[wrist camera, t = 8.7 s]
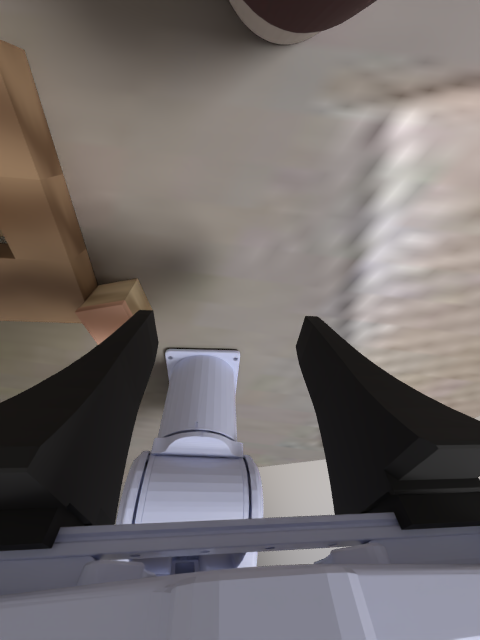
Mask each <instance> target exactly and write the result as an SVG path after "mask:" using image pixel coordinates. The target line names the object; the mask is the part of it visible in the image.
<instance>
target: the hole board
mask: <svg viewBox="0 0 480 640" xmlns="http://www.w3.org/2000/svg"><path fill="white" fill-rule="evenodd" d="M0 229H1V231H2V233H3V235H4V237H5V239H6V241H7V243H8V244H4V243H0V321H29V322H60V323H82V322H81V320H80V319H79V318H78V316H77V315H76V314H75V311H76V310H77V309H78V308H80V307H81V306H82V305H83V303H84V302H85V301H86V300H87V299H88V297H89V296H90V295H91V294H92V292H93V291H94V290H95V289H96V288H97V286H98V285H97V281H96V278H95V275H94V272H93V269H92V265H91V262H90V259H89V256H88V253H87V249H86V246H85V243H84V240H83V237H82V233H81V230H80V227H79V224H78V221H77V217H76V214H75V211H74V208H73V205H72V201H71V198H70V195H69V192H68V189H67V185H66V182H65V179H64V176H63V173H62V169H61V166H60V163H59V160H58V157H57V153H56V150H55V147H54V144H53V140H52V137H51V134H50V131H49V128H48V124H47V121H46V118H45V115H44V112H43V108H42V105H41V102H40V99H39V96H38V92H37V89H36V86H35V83H34V80H33V76H32V73H31V70H30V67H29V64H28V60H27V57H26V54H25V51H24V50H23V49H21V48H18V47H16V46H14V45H11V44H9V43H7V42H4V41H2V40H0Z"/></svg>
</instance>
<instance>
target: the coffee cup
mask: <svg viewBox="0 0 480 640" xmlns="http://www.w3.org/2000/svg"><path fill="white" fill-rule="evenodd" d="M229 1H230V3H231V5H232V7H233V8H234V10H235V12H236V13H237V15H238V16H239V17H240V19H241V20H242V21H243V23H244V24H245V25H246V26H247V27H248V28H249V29H250V30H251V31H253V32H254V33H255V34H256V35H258V36H259V37H261V38H263V39H265V40H267V41H269V42H273V43H276V44H295V43H299V42H302V41H305V40H307V39H309V38H311V37H313V36H315V35H316V34H318V33H319V32H321V31H324V30H327V29H329V28H332V27H334V26H336V25H339V24H341V23H343V22H344V21H346V20H348V19H349V18H351V17H353V16H354V15H356V14H357V13H359V12H360V11H362V10H363V9H365V8H366V7H368V6H369V5H371V4H372V3H374V2H375V1H377V0H229Z"/></svg>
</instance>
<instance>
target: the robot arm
mask: <svg viewBox="0 0 480 640" xmlns="http://www.w3.org/2000/svg"><path fill="white" fill-rule="evenodd" d="M157 348H158V337H157V331H156V325H155V319H154V313H153V310H139V311H137V312H136V313H135V314H134V315H133V316H132V317H131V318H129V319H128V320H127V321H126V322H125V323H124V324H123V325H122V326H120V327H119V328H118V329H117V330H116V331H115V332H114V333H112V334H111V335H110V336H109V337H108V338H106V339H105V340H104V341H103V342H101V343H100V344H99V345H97V346H96V347H95V348H94V349H92V350H91V351H90V352H88V353H87V354H86V355H84V356H83V357H81V358H80V359H78V360H77V361H75V362H74V363H72V364H71V365H69V366H68V367H66V368H65V369H63V370H61V371H60V372H58V373H56V374H54V375H53V376H51V377H49V378H47V379H46V380H44V381H42V382H41V383H39V384H37V385H35V386H33V387H32V388H30V389H28V390H26V391H24V392H22V393H20V394H18V395H16V396H14V397H12V398H10V399H8V400H6V401H4V402H2V403H0V640H480V480H479V478H478V477H479V476H480V421H478V420H476V419H474V418H472V417H469V416H467V415H465V414H463V413H461V412H458V411H456V410H454V409H452V408H450V407H447V406H445V405H443V404H442V403H440V402H438V401H436V400H434V399H432V398H430V397H428V396H426V395H424V394H422V393H420V392H419V391H417V390H415V389H413V388H412V387H410V386H408V385H406V384H405V383H403V382H401V381H400V380H398V379H396V378H395V377H393V376H392V375H390V374H389V373H387V372H386V371H384V370H383V369H381V368H380V367H378V366H377V365H375V364H374V363H373V362H371V361H370V360H368V359H367V358H366V357H365V356H363V355H362V354H361V353H359V352H358V351H357V350H356V349H355V348H353V347H352V346H351V345H350V344H349V343H347V342H346V341H345V340H344V339H343V338H342V337H340V336H339V335H338V334H337V333H336V332H335V331H334V330H333V329H331V328H330V327H329V326H328V325H327V324H326V323H325V322H324V321H322V320H321V319H320V318H319V317H315V316H305V319H304V322H303V325H302V329H301V332H300V335H299V338H298V341H297V344H296V351H297V356H298V361H299V365H300V368H301V371H302V374H303V377H304V380H305V383H306V386H307V388H308V391H309V394H310V397H311V400H312V403H313V406H314V409H315V412H316V416H317V420H318V424H319V429H320V433H321V437H322V442H323V447H324V452H325V457H326V462H327V468H328V473H329V479H330V485H331V491H332V498H333V504H334V512H335V515H322V516H298V517H276V518H263V490H262V482H261V477H260V473H259V470H258V467H257V465H256V464H255V462H254V461H253V459H252V458H251V456H249V455H243V443H242V442H237V427H236V404H235V393H236V385H237V377H238V369H239V361H240V352H239V351H236V350H195V349H167V350H166V352H165V357H166V364H167V370H168V377H169V387H168V392H167V397H166V401H165V406H164V410H163V415H162V420H161V424H160V429H159V433H158V438H154V442H153V446H152V450H151V451H143V452H142V453H141V454H140V455H139V456H138V457H137V458H136V459H135V460H134V461H133V463H132V465H131V467H130V470H129V473H128V476H127V479H126V482H125V486H124V490H123V493H122V497H121V501H120V506H119V510H118V515H117V520H116V525H114V524H115V519H116V513H117V507H118V501H119V496H120V490H121V484H122V480H123V475H124V470H125V464H126V459H127V455H128V450H129V446H130V441H131V437H132V432H133V428H134V424H135V420H136V416H137V412H138V409H139V405H140V402H141V400H142V397H143V394H144V391H145V388H146V386H147V383H148V380H149V377H150V374H151V371H152V368H153V365H154V362H155V358H156V353H157ZM170 356H172V357H170ZM235 357H236V358H235ZM346 546H351V547H346ZM330 547H346V548H340V549H335V550H332V551H331V553H330V555H329V556H328V557H326V558H324V559H322V560H319V561H317V562H314V564H299V565H276V566H259V567H256V566H257V552H260V551H277V550H295V549H311V548H330ZM110 560H112V561H110Z"/></svg>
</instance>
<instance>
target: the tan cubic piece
mask: <svg viewBox="0 0 480 640" xmlns="http://www.w3.org/2000/svg"><path fill="white" fill-rule="evenodd" d="M139 310H152V308H151V306H150V304H149V302H148V300H147V297H146V295H145V293H144V291H143V289H142V287H141V285H140V283H139V281H138V279H132V280H126V281H120V282H114V283H108V284H102V285H98V286H97V288H96V289H95V290H94V291H93V292H92V294H91V295H90V296H89V297H88V299H87V300H86V301H85V302H84V303H83V305H82V306H81V307H80V308H78V309H77V310H76V311H75V314H76V315H77V316H78V318H79V319H80V320H81V322H82V323H83V325H84V326H85V327H86V329H87V330H88V331H89V333H90V334H91V336H92V337H93V338H94V340H95V341H96V342H97V344H98V345H99V344H100V343H101V342H103V341H104V340H105V339H106V338H108V337H109V336H110V335H111V334H112V333H114V332H115V331H116V330H117V329H118V328H119V327H120V326H122V325H123V324H124V323H125V322H126V321H127V320H128V319H129V318H131V317H132V316H133V315H134V314H135V313H136V312H137V311H139Z"/></svg>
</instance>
